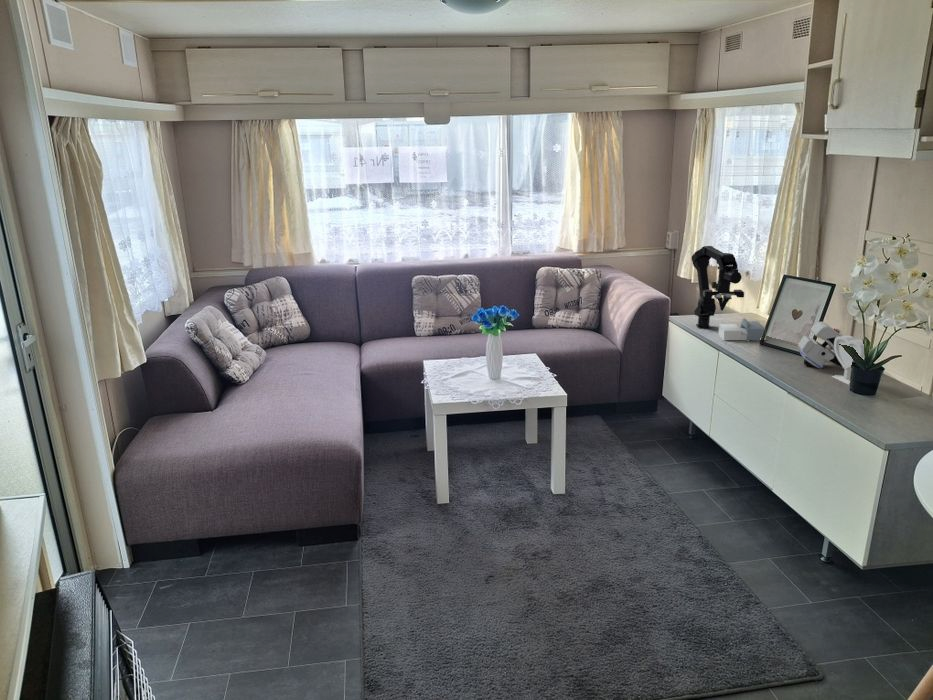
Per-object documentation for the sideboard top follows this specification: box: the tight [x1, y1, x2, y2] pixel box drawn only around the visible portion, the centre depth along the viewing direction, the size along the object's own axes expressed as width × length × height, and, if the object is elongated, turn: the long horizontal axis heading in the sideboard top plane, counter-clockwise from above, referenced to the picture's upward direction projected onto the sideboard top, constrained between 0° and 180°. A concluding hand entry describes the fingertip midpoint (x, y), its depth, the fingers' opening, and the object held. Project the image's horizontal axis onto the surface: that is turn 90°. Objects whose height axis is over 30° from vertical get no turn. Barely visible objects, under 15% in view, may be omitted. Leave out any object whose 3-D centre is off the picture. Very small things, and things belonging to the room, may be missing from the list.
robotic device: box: [797, 321, 844, 370], centre depth 307 cm, size 10×21×20 cm
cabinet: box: [740, 318, 766, 342], centre depth 351 cm, size 14×8×8 cm, turn 173°
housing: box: [717, 323, 748, 341], centre depth 352 cm, size 12×20×5 cm, turn 83°
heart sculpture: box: [831, 335, 865, 386], centre depth 289 cm, size 16×5×18 cm, turn 12°
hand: (721, 310), depth 353 cm, fingers closed
